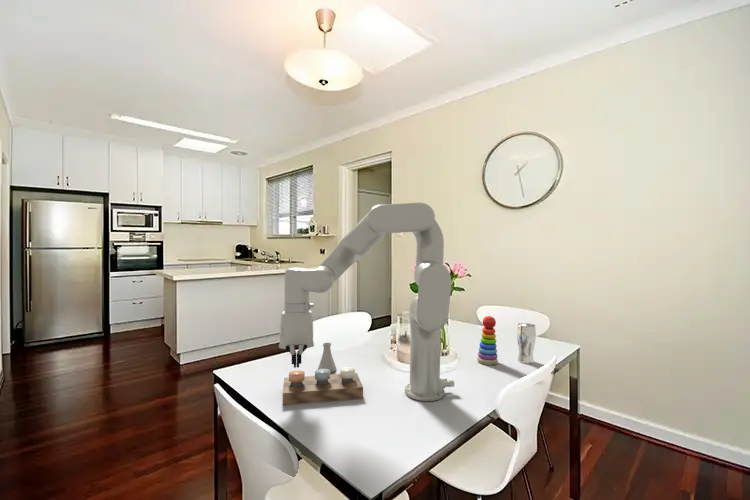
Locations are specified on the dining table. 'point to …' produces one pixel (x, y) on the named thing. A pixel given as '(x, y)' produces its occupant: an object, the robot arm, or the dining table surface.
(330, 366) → the flask
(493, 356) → the stacking toy
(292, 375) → the terracotta button
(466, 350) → the dining table surface
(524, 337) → the beer glass
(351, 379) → the ivory button
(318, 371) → the slate button
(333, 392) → the button panel
